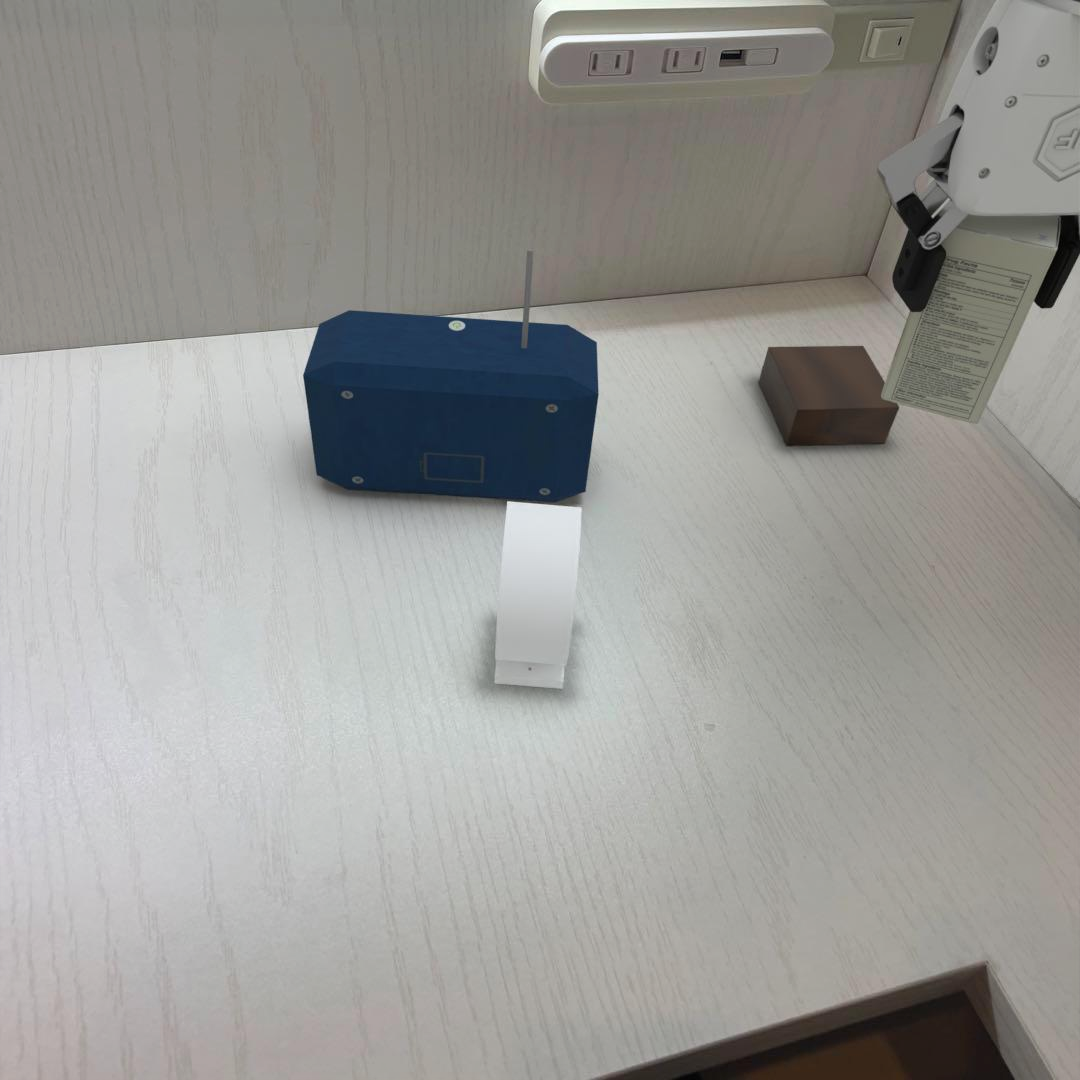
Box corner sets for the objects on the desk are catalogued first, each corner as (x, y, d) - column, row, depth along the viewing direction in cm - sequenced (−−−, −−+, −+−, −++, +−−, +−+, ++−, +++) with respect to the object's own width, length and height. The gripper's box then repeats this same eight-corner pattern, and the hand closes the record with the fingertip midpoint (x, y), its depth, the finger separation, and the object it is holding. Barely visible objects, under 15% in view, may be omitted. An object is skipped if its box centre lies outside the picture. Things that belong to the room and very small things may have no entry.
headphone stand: (565, 630, 68) (582, 507, 59) (562, 702, 64) (579, 581, 55) (499, 624, 68) (507, 500, 59) (492, 696, 64) (498, 574, 55)
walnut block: (850, 381, 91) (863, 345, 88) (884, 443, 85) (900, 407, 82) (758, 382, 90) (768, 346, 87) (785, 446, 83) (797, 409, 81)
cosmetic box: (984, 390, 63) (1068, 215, 54) (977, 428, 60) (1065, 250, 52) (885, 362, 65) (952, 188, 56) (874, 398, 62) (942, 220, 53)
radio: (582, 440, 82) (610, 221, 68) (583, 512, 76) (614, 288, 62) (335, 424, 82) (310, 200, 67) (316, 496, 75) (284, 266, 61)
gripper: (974, -14, 41) (854, 338, 54) (1337, -7, 43) (1139, 329, 56) (905, -66, 46) (810, 267, 59) (1233, -57, 48) (1073, 261, 61)
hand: (971, 295), depth 57 cm, fingers closed on cosmetic box, 7 cm apart
